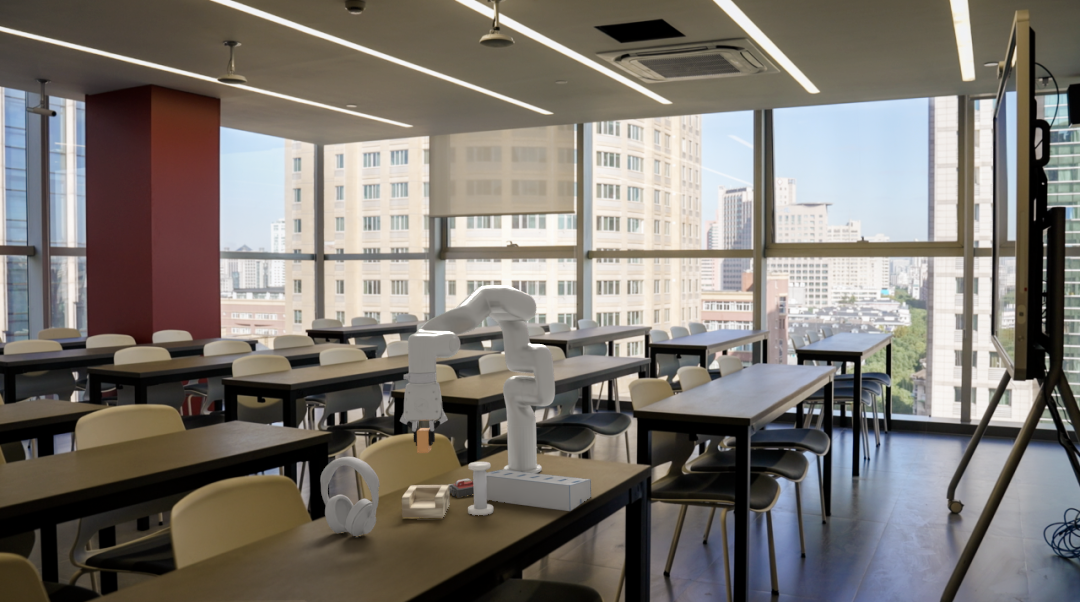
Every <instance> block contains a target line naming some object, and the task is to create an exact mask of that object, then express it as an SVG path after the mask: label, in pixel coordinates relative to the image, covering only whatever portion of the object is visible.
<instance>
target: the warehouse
mask: <svg viewBox="0 0 1080 602" xmlns="http://www.w3.org/2000/svg"><path fill="white" fill-rule="evenodd" d="M486 481H487V501H489V500H492V501H491V502H496V501H498V502H497V503H504V502H505V503H506V504H511V505H522V506H526V507H527V506H529V507H536V508H544V509H550V510H558V511H567V512H571V511H573V510H574V509H576V508H577V507H579V506H580V505H581V504H583V503H584V501H585V502H586V501H587V499H588V500H589V499H591V498H592V479H591V478H580V477H572V476H563V475H552V474H544V473H543V474H542V473H527V472H518V471H509V470H504V469H498V470H493V471H488V472H487V471H486ZM590 497H591V498H590ZM505 503H504V504H505Z"/></svg>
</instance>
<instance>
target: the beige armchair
mask: <svg viewBox="0 0 1080 602" xmlns="http://www.w3.org/2000/svg"><path fill="white" fill-rule="evenodd" d="M450 494H451V493H449V485H448V484H416V485H415V484H410V485H409V487H408V489H407V490H406V491H405V492H404V494H403V495H402V497H401V515H402V516H401V517H419V518H420V517H421V518H422V517H423V518H443V517H444V518H445V516H446V514H447V512H448V510H449V508H450V506H451V505H450V504H451V503H450V502H451V496H450ZM449 505H450V506H449ZM448 507H449V508H448ZM447 509H448V510H447ZM446 511H447V512H446ZM445 513H446V514H445ZM444 515H445V516H444ZM444 518H443V519H444Z"/></svg>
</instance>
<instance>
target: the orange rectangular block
mask: <svg viewBox="0 0 1080 602" xmlns="http://www.w3.org/2000/svg"><path fill="white" fill-rule="evenodd" d="M429 429H430V427H420V428H419V430H418V431H417V446H416V450H417V451H416V453H417V454H429V453H430V452H431V451H432V445H431V446H429Z"/></svg>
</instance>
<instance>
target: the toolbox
mask: <svg viewBox="0 0 1080 602" xmlns="http://www.w3.org/2000/svg"><path fill="white" fill-rule="evenodd" d="M447 485H449V494H451V493H452V494H451V496H452V497H456V496H457V497H456V498H463V497H462V496H465V497H468V496H467V495H471V496H473V495H472V494H474V486H473V480H472V479H470V478H463V479H457V480H456V481H455V482H454V483H451V484H450V483H448V484H447Z"/></svg>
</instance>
